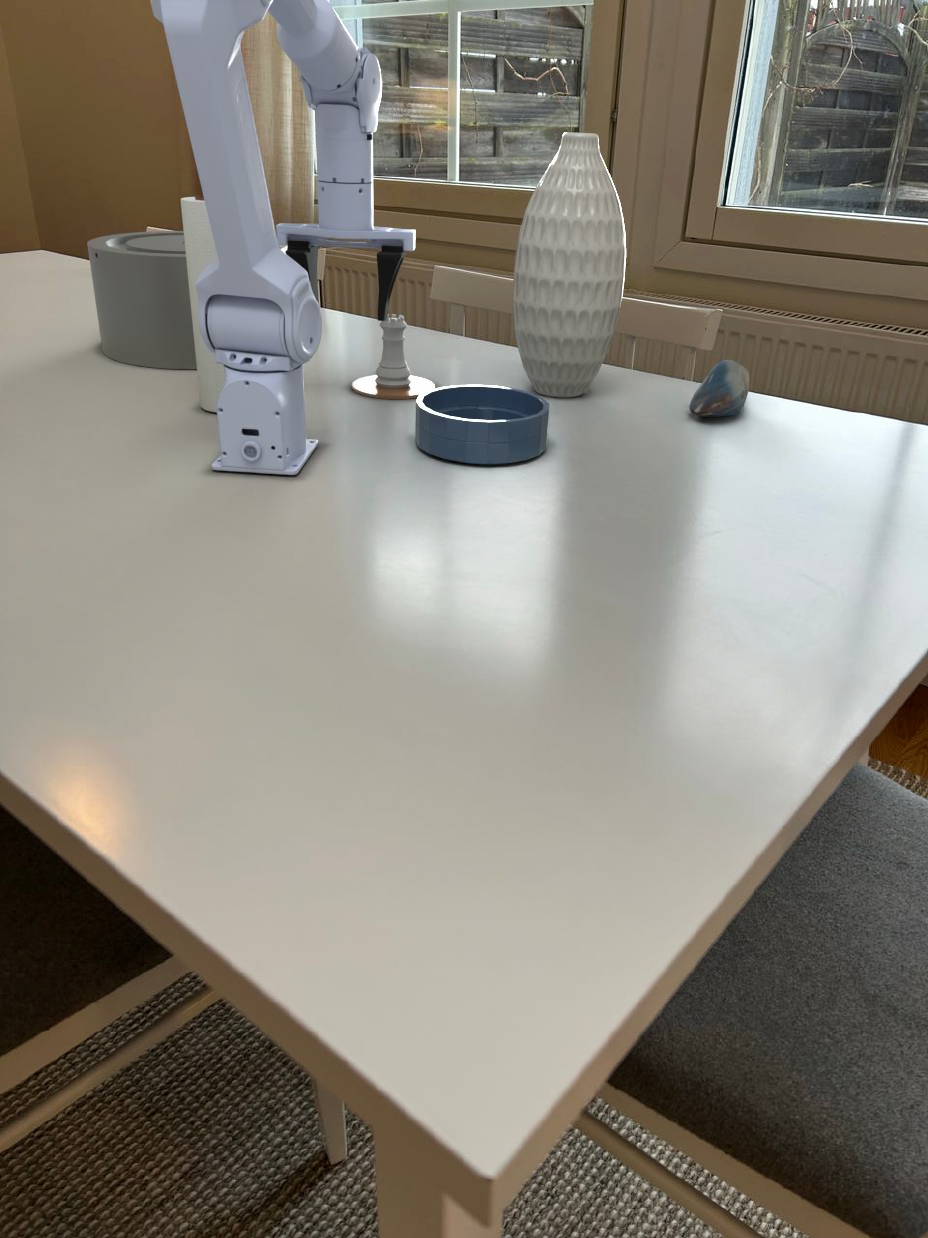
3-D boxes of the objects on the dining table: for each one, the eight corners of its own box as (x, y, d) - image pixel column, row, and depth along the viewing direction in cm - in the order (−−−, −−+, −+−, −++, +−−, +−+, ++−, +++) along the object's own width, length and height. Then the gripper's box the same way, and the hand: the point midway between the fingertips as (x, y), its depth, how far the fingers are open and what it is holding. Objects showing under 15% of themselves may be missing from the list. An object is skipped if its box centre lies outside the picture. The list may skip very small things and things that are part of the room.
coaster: (429, 401, 110) (429, 398, 110) (344, 396, 111) (344, 392, 111) (439, 379, 119) (439, 376, 119) (360, 375, 119) (360, 372, 119)
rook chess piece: (406, 390, 112) (407, 321, 109) (370, 387, 113) (369, 318, 109) (415, 381, 116) (416, 314, 112) (380, 378, 117) (380, 311, 113)
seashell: (700, 403, 103) (775, 349, 103) (662, 391, 111) (731, 341, 111) (723, 450, 106) (796, 397, 106) (684, 434, 114) (751, 386, 114)
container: (72, 339, 130) (55, 236, 124) (234, 320, 145) (227, 227, 139) (154, 378, 114) (140, 261, 108) (327, 353, 129) (324, 248, 123)
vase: (491, 381, 119) (503, 129, 106) (581, 375, 124) (604, 132, 110) (533, 408, 109) (553, 133, 96) (630, 401, 113) (662, 136, 100)
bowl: (545, 471, 90) (548, 425, 88) (407, 463, 91) (408, 417, 89) (546, 430, 102) (549, 388, 100) (424, 422, 103) (425, 381, 101)
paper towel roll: (194, 413, 102) (172, 197, 92) (208, 398, 108) (189, 192, 98) (261, 416, 103) (246, 200, 92) (271, 400, 108) (259, 195, 98)
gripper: (420, 182, 101) (418, 313, 108) (285, 175, 102) (291, 306, 108) (411, 186, 95) (409, 326, 101) (268, 180, 96) (275, 318, 102)
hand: (348, 317), depth 104 cm, fingers open, 7 cm apart
